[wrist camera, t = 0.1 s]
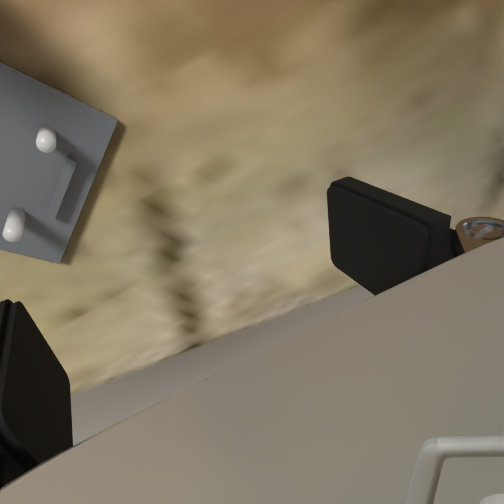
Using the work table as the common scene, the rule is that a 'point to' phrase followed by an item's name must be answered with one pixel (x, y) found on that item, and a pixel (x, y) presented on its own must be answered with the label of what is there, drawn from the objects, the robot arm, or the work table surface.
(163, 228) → the work table surface
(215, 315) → the work table surface
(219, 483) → the robot arm
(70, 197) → the gray peg board
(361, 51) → the work table surface
